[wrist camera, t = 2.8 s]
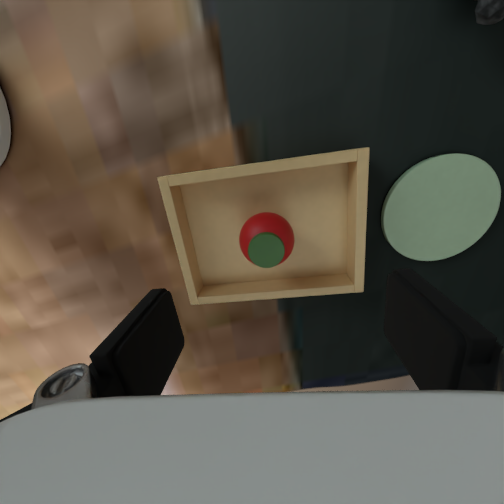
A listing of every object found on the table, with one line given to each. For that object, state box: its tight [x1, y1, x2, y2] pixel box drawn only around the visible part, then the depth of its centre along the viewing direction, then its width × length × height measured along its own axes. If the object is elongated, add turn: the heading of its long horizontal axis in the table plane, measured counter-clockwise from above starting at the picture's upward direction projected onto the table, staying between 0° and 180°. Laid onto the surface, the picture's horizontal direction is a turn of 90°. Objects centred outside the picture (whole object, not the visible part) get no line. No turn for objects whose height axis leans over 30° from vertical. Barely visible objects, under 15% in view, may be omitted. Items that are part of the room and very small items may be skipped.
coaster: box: [381, 153, 501, 261], centre depth 20 cm, size 9×9×1 cm
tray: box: [157, 147, 369, 305], centre depth 21 cm, size 16×12×3 cm
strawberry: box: [239, 212, 295, 268], centre depth 19 cm, size 4×4×5 cm
